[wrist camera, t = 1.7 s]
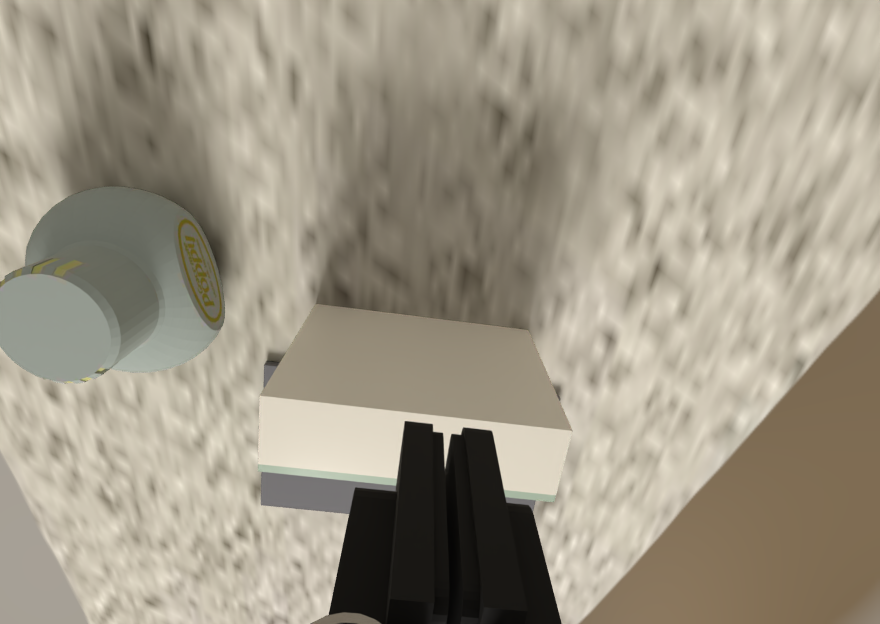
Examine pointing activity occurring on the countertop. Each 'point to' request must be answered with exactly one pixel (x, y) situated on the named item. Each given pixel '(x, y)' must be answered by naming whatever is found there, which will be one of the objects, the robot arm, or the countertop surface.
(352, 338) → the tile
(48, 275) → the air freshener
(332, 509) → the mat
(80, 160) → the countertop surface
